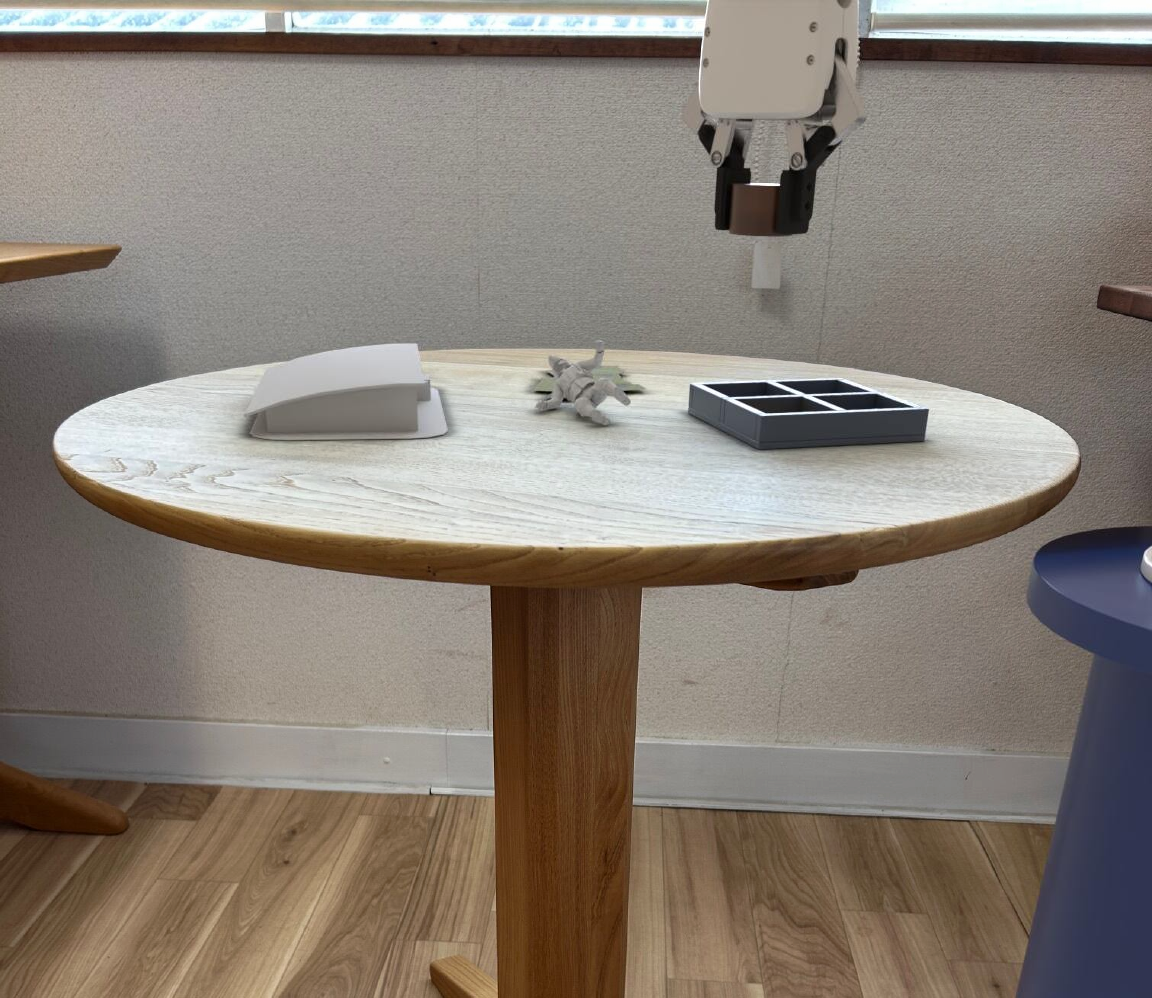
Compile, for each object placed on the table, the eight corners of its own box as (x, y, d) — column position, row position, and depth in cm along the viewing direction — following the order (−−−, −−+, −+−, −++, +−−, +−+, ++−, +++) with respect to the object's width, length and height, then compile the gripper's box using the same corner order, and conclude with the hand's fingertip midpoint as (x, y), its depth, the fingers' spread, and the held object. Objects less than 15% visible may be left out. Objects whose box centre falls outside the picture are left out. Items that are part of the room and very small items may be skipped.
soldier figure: (563, 441, 99) (502, 370, 106) (594, 473, 102) (532, 403, 110) (635, 371, 97) (567, 305, 104) (663, 407, 101) (596, 340, 108)
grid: (924, 441, 97) (929, 408, 96) (758, 449, 93) (761, 415, 92) (837, 406, 109) (840, 377, 108) (687, 412, 105) (689, 382, 104)
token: (803, 236, 85) (808, 185, 84) (745, 236, 84) (749, 185, 83) (774, 232, 89) (779, 183, 88) (718, 232, 88) (721, 182, 86)
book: (436, 385, 114) (435, 341, 113) (449, 438, 94) (448, 385, 92) (268, 386, 112) (264, 341, 110) (245, 440, 92) (239, 387, 90)
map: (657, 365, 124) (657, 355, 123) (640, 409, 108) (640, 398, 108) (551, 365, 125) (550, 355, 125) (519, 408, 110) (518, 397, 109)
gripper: (934, -83, 76) (893, 237, 84) (713, -61, 86) (696, 223, 94) (874, -101, 71) (837, 241, 79) (646, -75, 81) (635, 226, 89)
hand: (761, 228), depth 87 cm, fingers closed on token, 4 cm apart
